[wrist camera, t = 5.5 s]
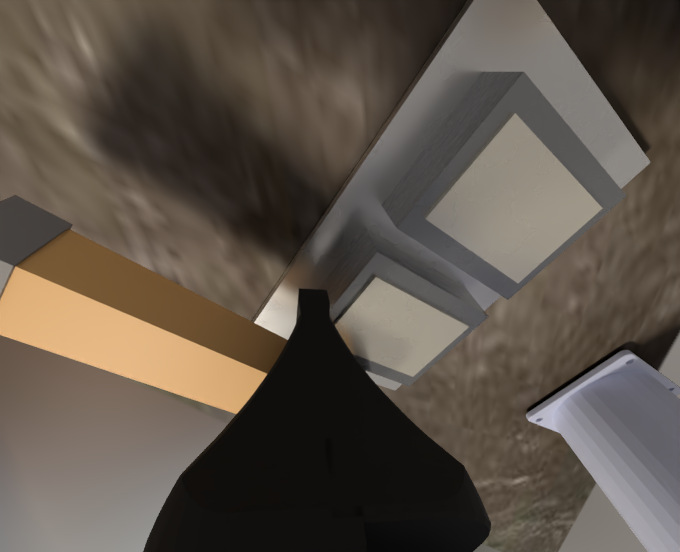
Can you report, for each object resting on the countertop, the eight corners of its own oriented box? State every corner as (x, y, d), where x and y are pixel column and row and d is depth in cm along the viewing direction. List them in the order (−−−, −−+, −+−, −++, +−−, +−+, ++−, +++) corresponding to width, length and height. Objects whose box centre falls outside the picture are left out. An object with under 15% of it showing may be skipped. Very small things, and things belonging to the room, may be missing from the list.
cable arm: (386, 386, 13) (399, 430, 12) (349, 413, 14) (356, 458, 12) (15, 194, 7) (-68, 231, 6) (-13, 262, 8) (-91, 312, 6)
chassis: (638, 159, 12) (723, 181, 10) (392, 383, 18) (407, 430, 16) (494, -40, 8) (576, -85, 6) (245, 330, 14) (235, 381, 12)
